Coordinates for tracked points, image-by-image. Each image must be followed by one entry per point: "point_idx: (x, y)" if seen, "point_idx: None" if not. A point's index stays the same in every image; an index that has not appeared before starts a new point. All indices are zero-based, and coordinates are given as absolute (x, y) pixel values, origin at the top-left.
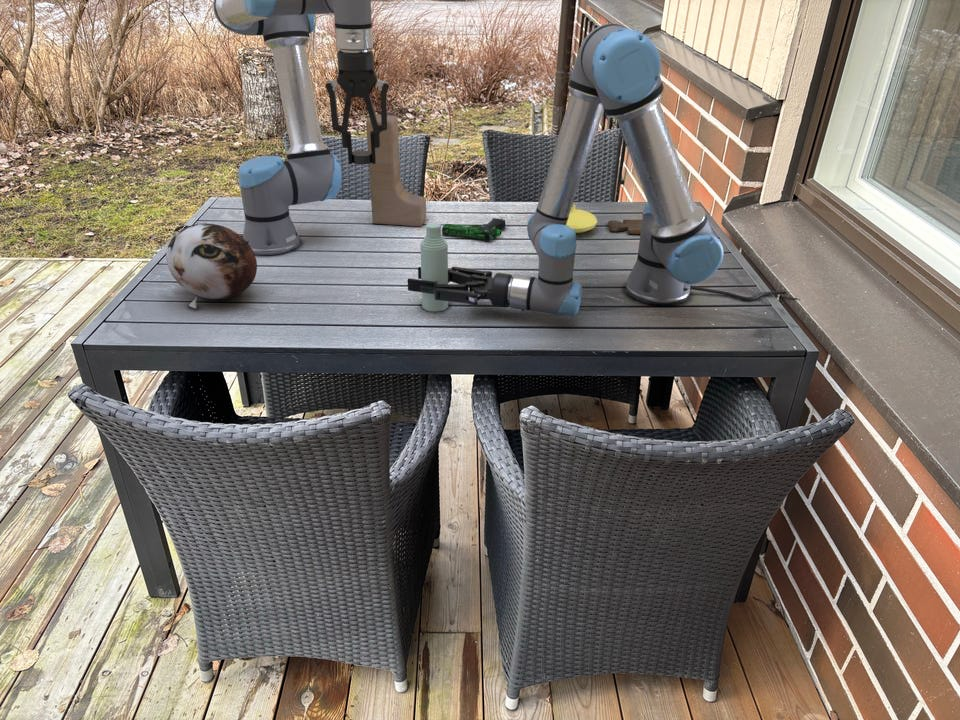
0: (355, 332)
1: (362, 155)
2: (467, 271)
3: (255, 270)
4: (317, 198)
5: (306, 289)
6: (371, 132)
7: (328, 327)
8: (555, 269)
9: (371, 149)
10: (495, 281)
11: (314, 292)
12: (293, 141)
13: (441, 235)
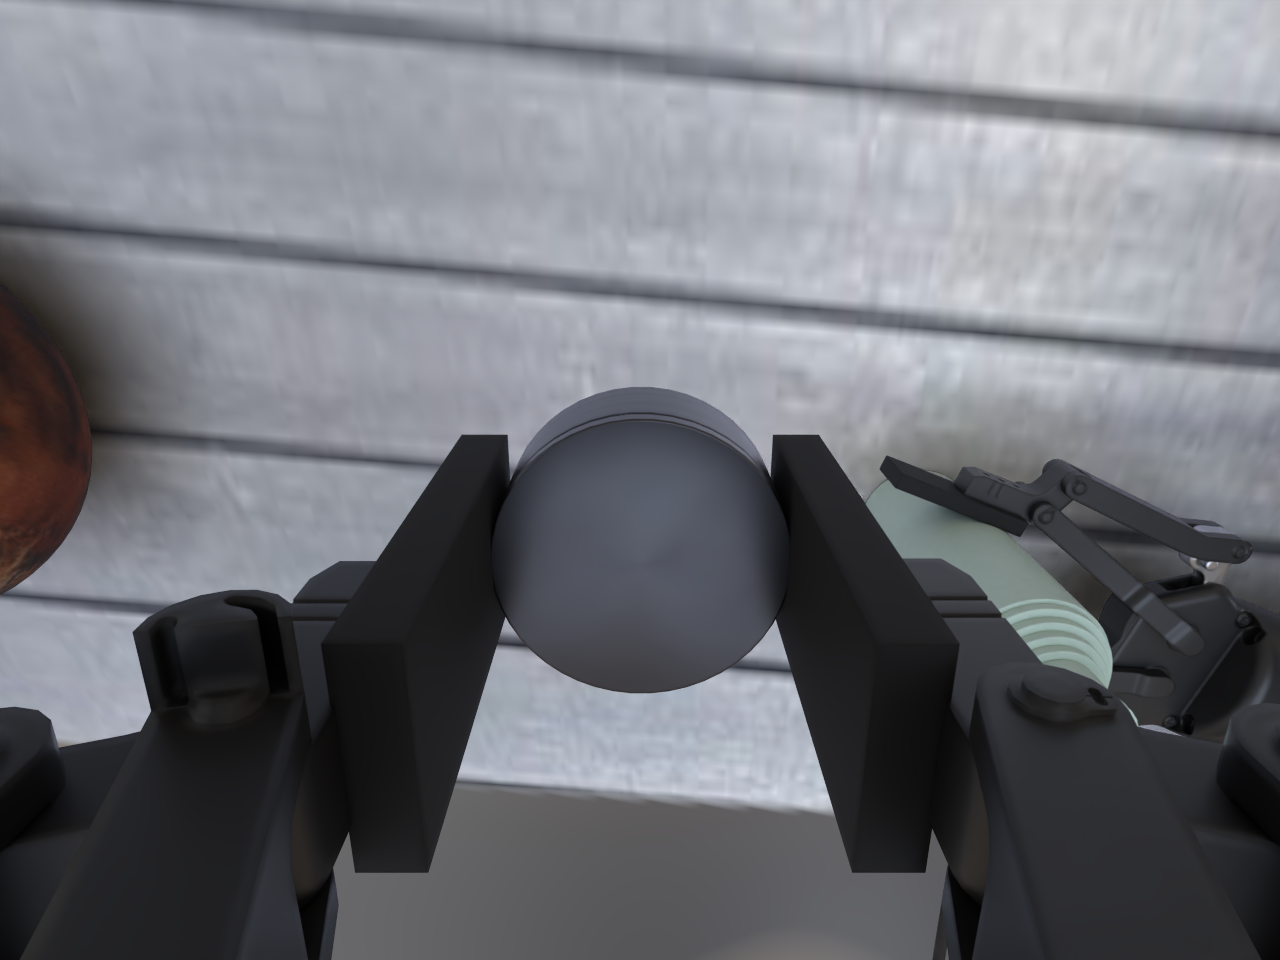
0: (598, 697)
1: (653, 675)
2: (1134, 528)
3: (77, 466)
4: None
5: (342, 317)
6: (887, 747)
7: (496, 657)
8: None
9: (799, 686)
10: (1223, 739)
11: (386, 353)
12: None
13: (1104, 684)
